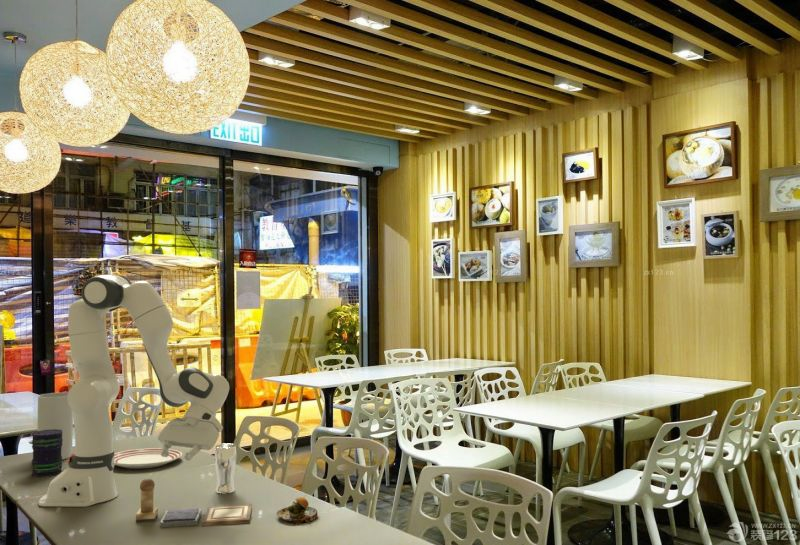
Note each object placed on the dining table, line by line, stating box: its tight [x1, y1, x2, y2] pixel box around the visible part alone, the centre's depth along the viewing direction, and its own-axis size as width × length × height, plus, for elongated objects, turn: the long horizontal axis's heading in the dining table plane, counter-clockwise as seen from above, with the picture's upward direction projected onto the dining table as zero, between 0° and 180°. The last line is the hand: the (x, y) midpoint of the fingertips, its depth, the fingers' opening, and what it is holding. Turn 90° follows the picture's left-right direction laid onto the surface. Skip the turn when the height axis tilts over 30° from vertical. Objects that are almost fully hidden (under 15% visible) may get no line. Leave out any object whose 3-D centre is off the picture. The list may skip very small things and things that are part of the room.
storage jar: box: [31, 429, 63, 478], centre depth 243 cm, size 10×10×15 cm
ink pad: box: [159, 508, 202, 528], centre depth 192 cm, size 10×10×2 cm
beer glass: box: [214, 443, 237, 495], centre depth 221 cm, size 7×7×15 cm
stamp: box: [135, 478, 159, 524], centre depth 193 cm, size 5×5×12 cm
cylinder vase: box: [36, 392, 74, 461], centre depth 266 cm, size 12×12×25 cm
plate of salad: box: [276, 491, 318, 525], centre depth 195 cm, size 12×12×8 cm
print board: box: [201, 504, 253, 527], centre depth 195 cm, size 13×13×1 cm
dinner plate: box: [114, 447, 183, 470], centre depth 258 cm, size 27×27×3 cm
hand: (175, 457), depth 204 cm, fingers open, 8 cm apart
